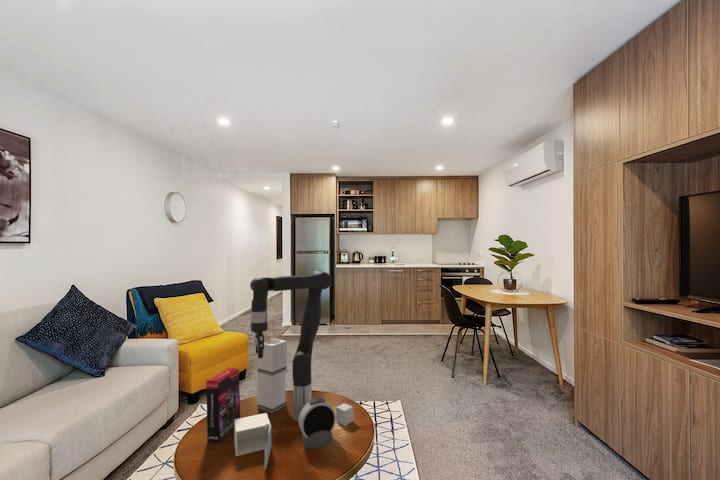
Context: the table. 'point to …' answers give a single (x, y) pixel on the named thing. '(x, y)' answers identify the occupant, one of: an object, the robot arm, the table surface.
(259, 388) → the grey square tower
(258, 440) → the carton
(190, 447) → the table surface
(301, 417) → the alarm clock
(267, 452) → the grey flat panel
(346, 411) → the product box
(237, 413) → the graphics card box
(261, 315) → the robot arm
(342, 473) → the table surface
